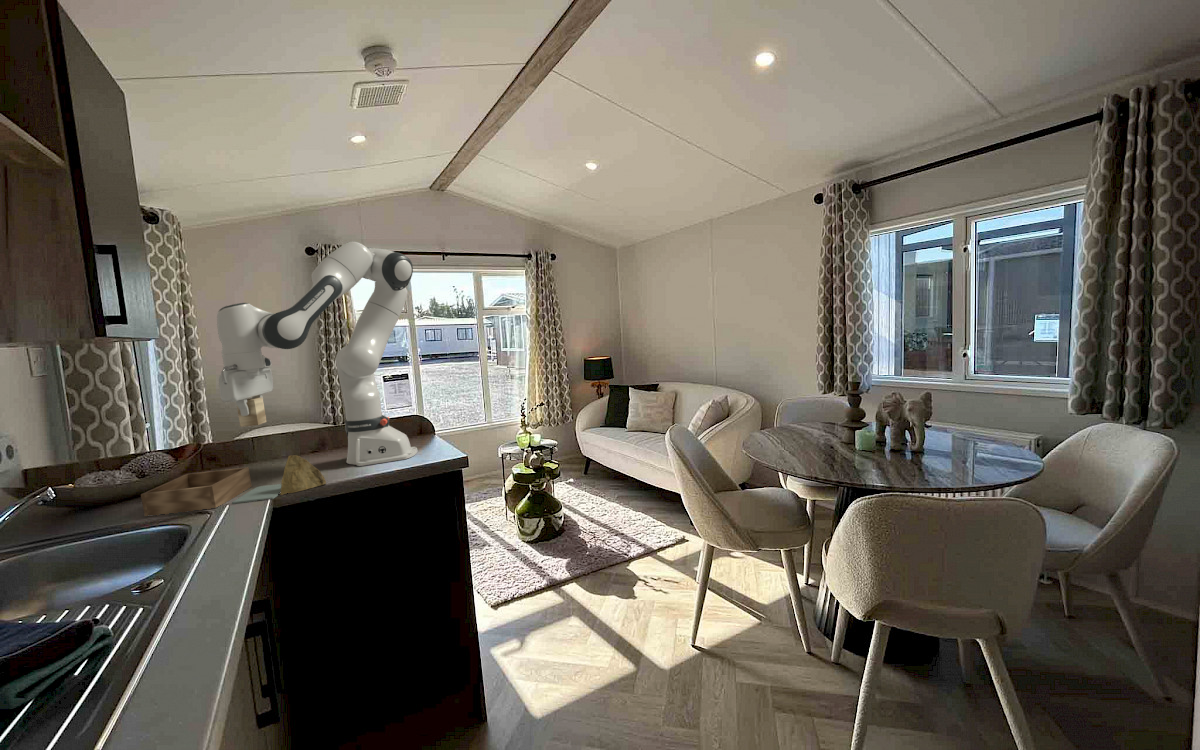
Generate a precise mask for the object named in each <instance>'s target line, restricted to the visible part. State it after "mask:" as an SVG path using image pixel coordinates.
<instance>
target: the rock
mask: <svg viewBox="0 0 1200 750" xmlns="http://www.w3.org/2000/svg"><path fill="white" fill-rule="evenodd" d="M285 462H286V463H285V466H284V470H283V475H282V479H281V481H280V482H281V483H280V484H281V493H280V494H279V495H280V496H283V495H287V493H288V494H293V493H294V494H295V493H298V492H302V491H305V490H309V489H313V488H316V487H321V486H324V485H326V484H327V480H326V479H325V476H324V475H323V474H322V472H321V470H319V469H318V468H317V467H315V466H314V465H313V464H312V463H311V462H309V461H308V460H307V459H305V458H303V457H301V456H300V455H296V454H295V455H294V454H292V455H288V456H287V461H285Z"/></svg>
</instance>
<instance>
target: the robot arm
mask: <svg viewBox="0 0 1200 750" xmlns="http://www.w3.org/2000/svg"><path fill="white" fill-rule="evenodd" d="M413 269H414V268H413V263H412V260H411V259H410V258H409V257H408V256H406V255H404V254H403V253H400V252H396V251H393V250H390V249H385V248H376V247H375V248H374V247H368V246H365V245H364V244H363V243H361V242H358V241H349V242H347V243H345V244H343V245H341V246H339V247H338V248H336V249H335V250H333V251H332V252H331V253H329V255H327V256H326V257H325V258H324V259H323V260H322V261H321V262H319V263H318V265H316V266H315V269H314V270H313V271H312V273H311V282H312V285H311V287H310V289H309V290H307V292H306V293H305V294H304V295H302V297H300V298H299V299H298V301H296V303H294V304H293V305H292V306H291V307H290V308H287V309H284V310H280V311H278V312H275V313H274V312H270V311H266V310H264V309H261V308H259V307H256V306H254V305H252V304H251V303H249V302H240V303H233V304H230V305H225V306H222V307H221V308H220V309H218V311H217V313H216V327H217V335H218V340H219V341H220V343H221V357H222V364H223V368H222V371H221V372H220V375H219V377H218V388H219V389H218V390H219V398H220V400H221V401H222V403H232V402H233V403H234V402H235V405H236V407H237V406H238V408H239V409H240V412H241V416H247V415H250V414H251V412H250V408H248V406H247V404H246V403H247V399H250V398H260V397H263V395H264V394H268V393H272V392H273V390H274V378H273V372H272V368H271V367H272V365H273V363H272V360H271V358H268V357H267V356H264V354H263V353H262V348H263V347H266V348H271V349H281V350H292V349H295V348H297V347H300V346H301V345H302V344H303V343H304V342H305V341H306V339H307V337H308V335H309V331H310V329H311V327H312V325H313V323H314V322H315V321H316V320H317V318H318V317H319V316H321V314H323V312H324V311H325V310H327V308H328V307H330V305H331V304H332V303H333V302H334V301H336V300H338V299H339V298H340V297H342V296H344V295H345V294H346V293H349V291H350V290H351V289H353V288H354V287H355V286H356V285H357V284H358V283H359V282H360V281H361V279H362V278H363V279H366V280H370V281H373V282H374V288H373V289H374V290H373V292H372V293H371V295H370V296H369V299H368V300H367V302H366V304H365V306H364V308H363V309H362V312H361V314H360V316H359V317H358V319H357V321H356V323H355V327H354V329H353V332H352V334H351V336H350V338H349V341H348V343H347V345H345V346H343V347H341V349H340V350H338V352H337V354H336V355H335V356H336V357H335V365H336V371H337V375H338V381H339V386H340V389H341V394H342V398H343V405H344V413H345V421H344V424H345V425H344V427H345V433H346V437H347V455H346V457H347V458H346V463H347V464H349V465H356V466H357V467H363V466H368V465H369V466H370V465H375V464H376V465H377V464H382V463H387V462H388V463H389V462H394V461H396V462H397V461H402V460H406V459H410V458H412V457H414V456H415V455H416V454H417V453H418V451H419V450H418V448H417V446H411V443H410V439H409V437H408V435H407V434H405V433H404V432H402V431H400V430H399V429H396V428H394V427H393V426H392V425H390V416H385V415H383V411H382V405H381V397H380V396H381V395H380V391H379V388H378V385H377V381H376V377H375V373H376V371H377V370H378V368H379V366H380V365H379V364H380V362H381V360H382V358H383V355H384V352H385V350H386V347H387V344H388V341H389V339H390V337H391V335H392V332H393V330H394V329H395V327H396V325H397V323H398V321H399V318H400V317H401V315H402V313H403V309H404V307H405V304H406V301H407V298H408V293H409V292H408V289H407V286H409V283H410V281H411V279H412V276H413V271H414V270H413ZM263 398H264V397H263Z"/></svg>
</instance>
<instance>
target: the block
mask: <svg viewBox="0 0 1200 750" xmlns="http://www.w3.org/2000/svg"><path fill="white" fill-rule="evenodd" d="M246 404H247V406H248V408H250V412H251V414H250V415H247V416H241V412H240V409H239V408H238V406H237V405H236V407H237V409H236V411H237V415H238V420H239V428H241V427H242V428H243V427H244V428H245V427H253V426H260V425H262V424H265V423H267V422H268V421H267V415H266V410H265V404H264V397H260V398H252V397H250V398H247V403H246Z"/></svg>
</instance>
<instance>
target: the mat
mask: <svg viewBox="0 0 1200 750" xmlns="http://www.w3.org/2000/svg"><path fill="white" fill-rule="evenodd" d="M280 492H281V483H278V484H268V485H260V486H259V485H258V486H256V487H254V488H253V489H251V490H249V491H248V492H246V493H244V494H243V495H241V496H240V497H238V498H237V499H235V500H233V501H231V505H236V504H243V503H244V502H245V503H251V502H252V501H253V502H258V501H257V500H262V501H265V500H264V499H270V500H274V499H275V498H277V497H278V496H279V495H280V494H279V493H280ZM278 494H279V495H278Z"/></svg>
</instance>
